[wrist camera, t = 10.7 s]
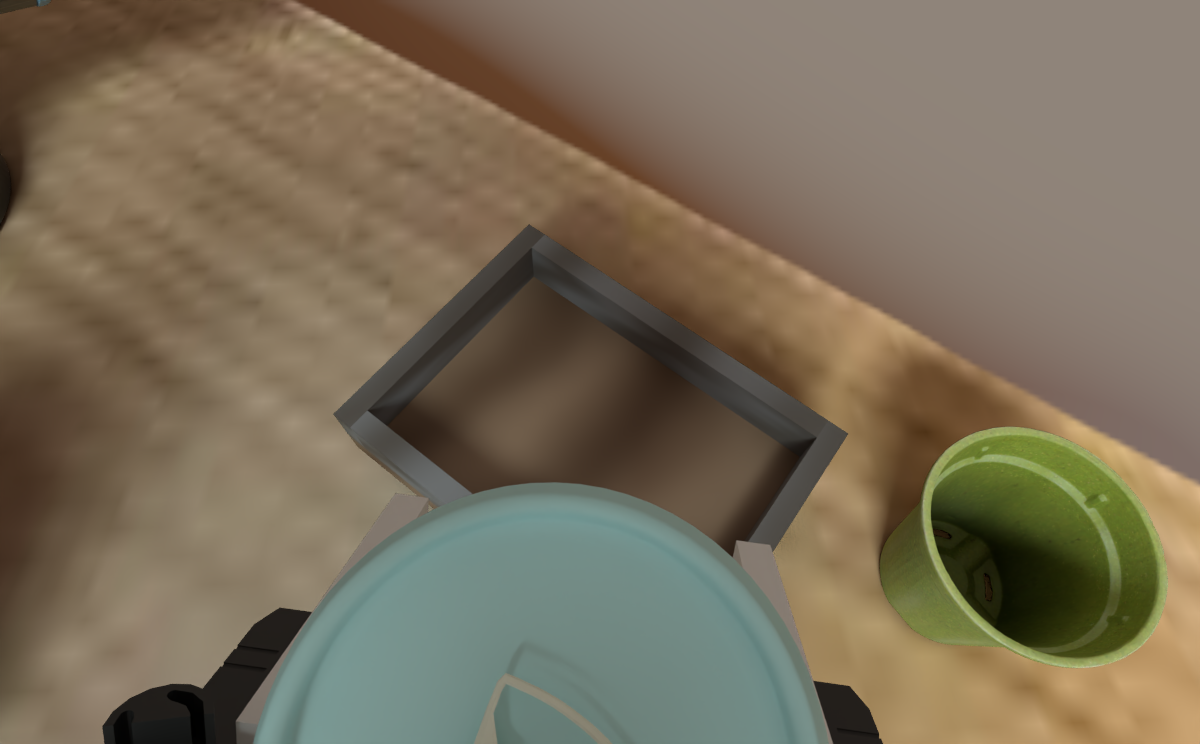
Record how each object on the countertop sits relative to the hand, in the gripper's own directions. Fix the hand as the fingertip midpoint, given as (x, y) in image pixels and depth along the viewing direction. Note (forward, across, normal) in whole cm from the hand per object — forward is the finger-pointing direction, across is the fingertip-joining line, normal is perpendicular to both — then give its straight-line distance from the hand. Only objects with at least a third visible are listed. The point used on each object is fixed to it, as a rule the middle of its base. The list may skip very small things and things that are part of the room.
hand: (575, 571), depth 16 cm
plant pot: (+18, +18, -10) cm, 27 cm away
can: (0, 0, -5) cm, 5 cm away
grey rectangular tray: (+19, 0, -7) cm, 21 cm away
